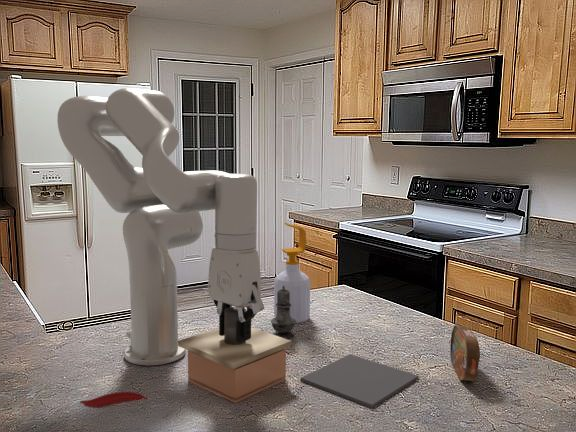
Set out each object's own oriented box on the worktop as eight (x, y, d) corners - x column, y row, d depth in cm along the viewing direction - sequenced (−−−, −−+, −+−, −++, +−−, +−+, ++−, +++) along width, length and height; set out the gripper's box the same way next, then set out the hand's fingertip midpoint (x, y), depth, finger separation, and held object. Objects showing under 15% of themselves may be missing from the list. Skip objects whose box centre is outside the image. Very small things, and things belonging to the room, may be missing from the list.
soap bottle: (270, 314, 146) (270, 221, 142) (302, 311, 148) (304, 220, 145) (279, 325, 137) (280, 226, 134) (314, 322, 140) (316, 225, 137)
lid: (178, 345, 105) (177, 309, 103) (236, 326, 116) (237, 293, 115) (232, 369, 95) (232, 329, 94) (291, 345, 106) (291, 310, 105)
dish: (188, 381, 105) (187, 350, 104) (238, 361, 115) (238, 333, 114) (235, 403, 97) (235, 369, 96) (285, 379, 106) (285, 349, 105)
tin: (448, 357, 118) (450, 318, 117) (463, 358, 118) (465, 319, 117) (462, 388, 103) (465, 344, 102) (480, 389, 103) (482, 345, 102)
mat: (300, 380, 106) (300, 377, 106) (349, 356, 118) (350, 354, 118) (372, 408, 95) (372, 404, 95) (418, 378, 107) (418, 375, 107)
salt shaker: (293, 341, 127) (293, 289, 125) (268, 339, 128) (268, 288, 126) (297, 332, 132) (298, 283, 131) (273, 330, 134) (273, 281, 132)
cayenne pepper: (73, 409, 95) (73, 398, 95) (84, 396, 99) (83, 386, 99) (144, 410, 95) (143, 400, 94) (151, 398, 99) (151, 387, 99)
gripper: (190, 237, 105) (191, 331, 108) (253, 251, 94) (252, 355, 97) (220, 233, 110) (220, 321, 113) (283, 245, 100) (281, 343, 102)
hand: (235, 336), depth 105 cm, fingers closed on lid, 4 cm apart
